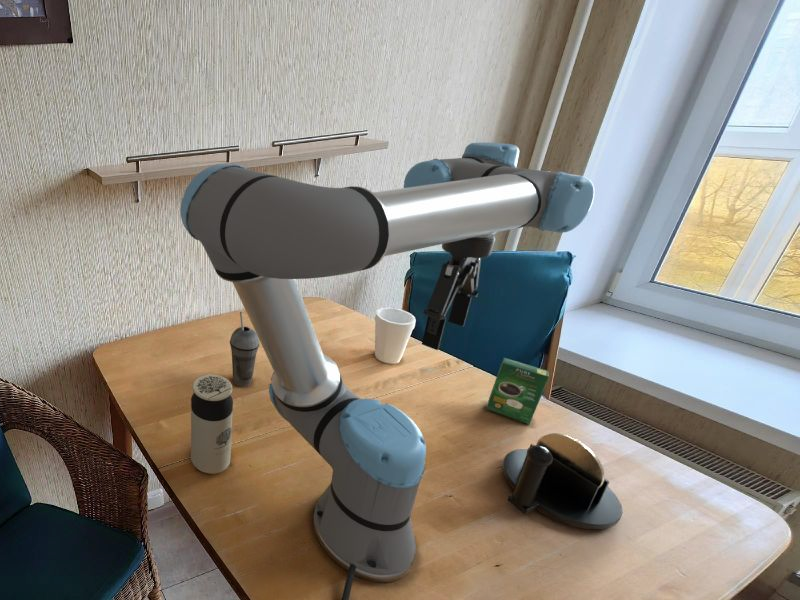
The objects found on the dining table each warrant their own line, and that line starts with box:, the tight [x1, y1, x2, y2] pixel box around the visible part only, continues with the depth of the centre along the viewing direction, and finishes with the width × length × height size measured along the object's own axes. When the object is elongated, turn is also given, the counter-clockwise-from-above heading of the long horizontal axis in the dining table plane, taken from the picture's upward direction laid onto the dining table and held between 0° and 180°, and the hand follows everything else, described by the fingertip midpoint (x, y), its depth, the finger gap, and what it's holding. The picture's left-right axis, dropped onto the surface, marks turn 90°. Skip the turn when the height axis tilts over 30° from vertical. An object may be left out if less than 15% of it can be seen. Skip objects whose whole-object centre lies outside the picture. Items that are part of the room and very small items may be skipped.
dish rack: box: [501, 432, 623, 530], centre depth 74 cm, size 20×16×13 cm
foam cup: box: [374, 307, 417, 365], centre depth 116 cm, size 10×9×13 cm
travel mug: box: [190, 373, 234, 475], centre depth 83 cm, size 8×8×18 cm
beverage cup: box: [229, 311, 260, 388], centre depth 106 cm, size 7×7×20 cm
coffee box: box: [486, 357, 550, 425], centre depth 94 cm, size 8×3×13 cm, turn 49°
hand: (443, 334), depth 84 cm, fingers open, 13 cm apart
